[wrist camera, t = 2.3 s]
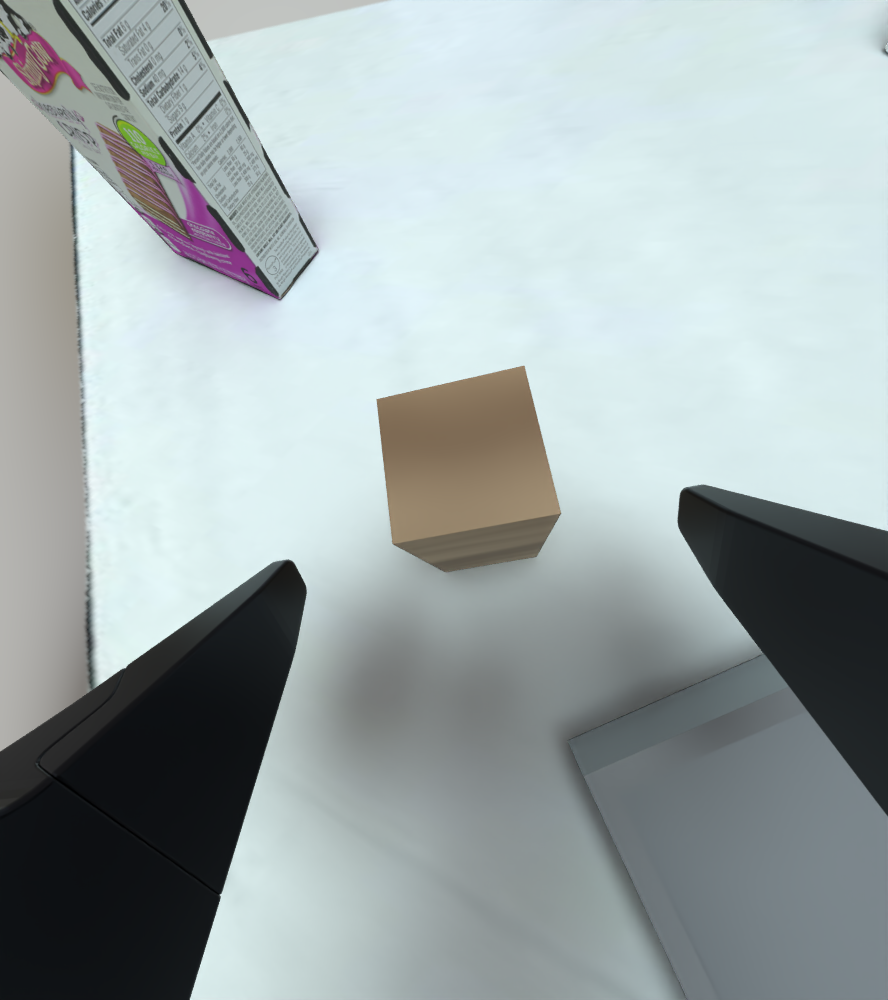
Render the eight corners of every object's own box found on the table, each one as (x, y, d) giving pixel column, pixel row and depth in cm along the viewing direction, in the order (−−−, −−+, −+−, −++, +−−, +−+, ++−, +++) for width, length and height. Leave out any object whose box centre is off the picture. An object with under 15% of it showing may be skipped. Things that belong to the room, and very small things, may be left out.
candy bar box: (173, 258, 28) (-239, -169, 13) (213, 209, 29) (-129, -251, 13) (281, 306, 25) (-87, -177, 10) (323, 250, 26) (44, -283, 10)
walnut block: (536, 556, 18) (561, 513, 10) (445, 572, 19) (392, 544, 10) (517, 470, 20) (524, 365, 11) (432, 487, 20) (376, 399, 12)
